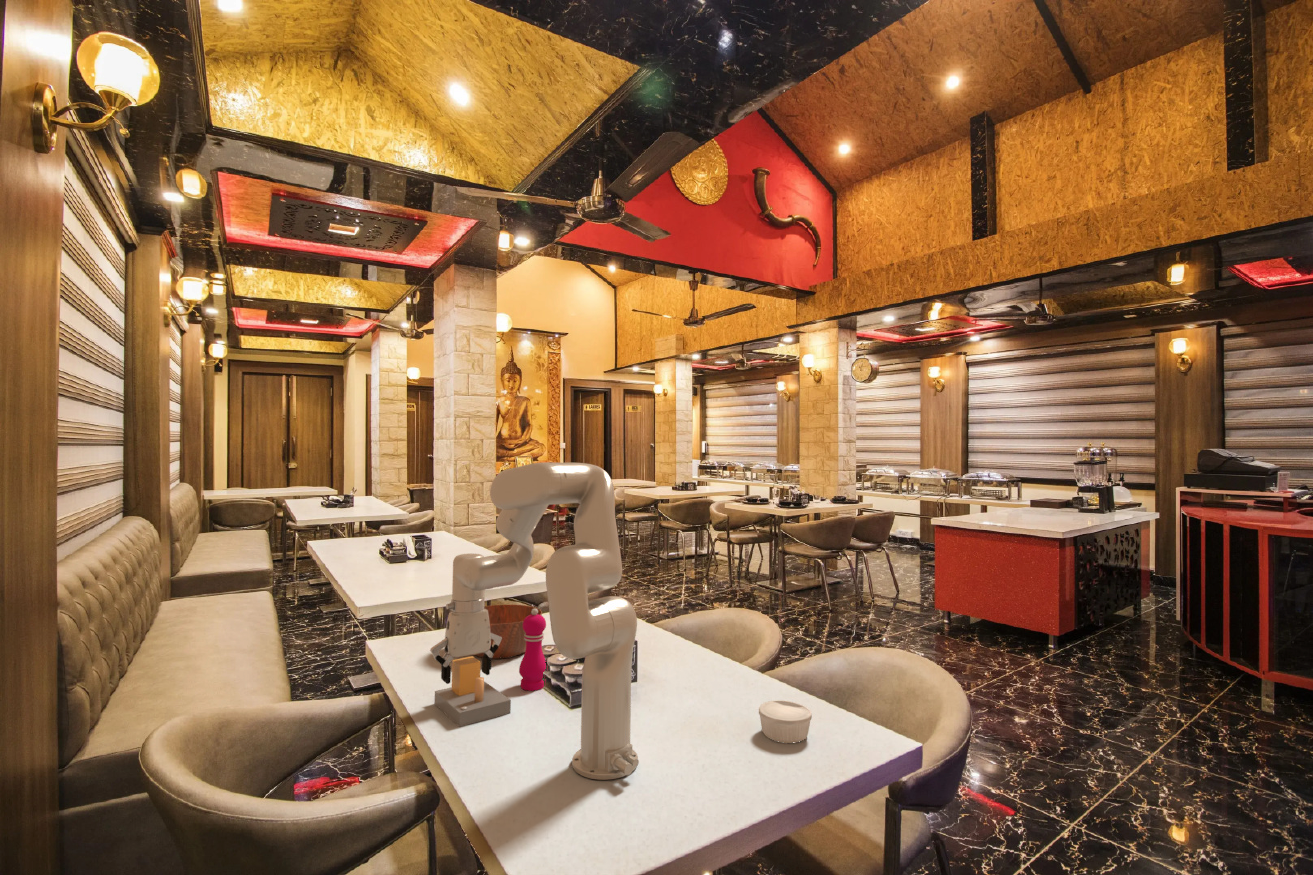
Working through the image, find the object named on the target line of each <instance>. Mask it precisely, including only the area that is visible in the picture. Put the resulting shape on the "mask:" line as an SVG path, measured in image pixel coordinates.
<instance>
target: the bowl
mask: <svg viewBox="0 0 1313 875" xmlns="http://www.w3.org/2000/svg"><path fill="white" fill-rule="evenodd" d="M534 608H535V609H537V610H538V614H539V615H541V616H543V611H542V609H540V608H538V607H536V606H532V605H525V604H493V605H484V609H486V610H488V615H489V622H490V632H491V633H493V634H496V635H498V636H500V637H502V640H501V642H500V644H499V646H498V649H497V650H496V652H495V653H494V654H493V657H492V658H491V660H493V659H494V660H497V659H508V658H512V657H513V656H514V657H517V656H519V655H522V654H525V651H526V640H525V639H524V638H525V636H524V634H525V633H526V632H525V631H524V630H523V621H524V619H525V618H526V617H527V616H529V615H532V613H531V611H532V609H534ZM493 642H494V640H493V639H491V645H492V644H493ZM483 655H484V653H480V654H475V655H474V656H476V657H479V658H482V657H483Z"/></svg>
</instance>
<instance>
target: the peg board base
mask: <svg viewBox="0 0 1313 875" xmlns="http://www.w3.org/2000/svg"><path fill="white" fill-rule="evenodd" d="M511 703H512V701H511V698H509V697H508V696H506V695H505V694H503V693H502V692H500V691H499V690H497V689H495V687H493V686H492V685H490V684H489V683H487V682H486V681H485V677H483V676H480V677H477V678H475V692H474V693H470V694H466V695H461V696H459V695H458V694H456V693H455V692H454V691H453V690H452V686H451V687H447V688H442V689H437V690H434V705H435V706H436V707H437V706H438V707H437V708H438V709H439V708H440V709H439V710H440V711H441V712H442V713H444V715H446V716H447V717H448V718H449V719H450V720H451V721H453V723H455V724H456V726H458V727H459V728H460V727H463V726H464V727H465V726H468V725H471V724H476V723H479V722H483V721H486V720H490V719H495V718H498V717H501V716H505V715H508V714H511V708H512V707H511Z"/></svg>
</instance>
